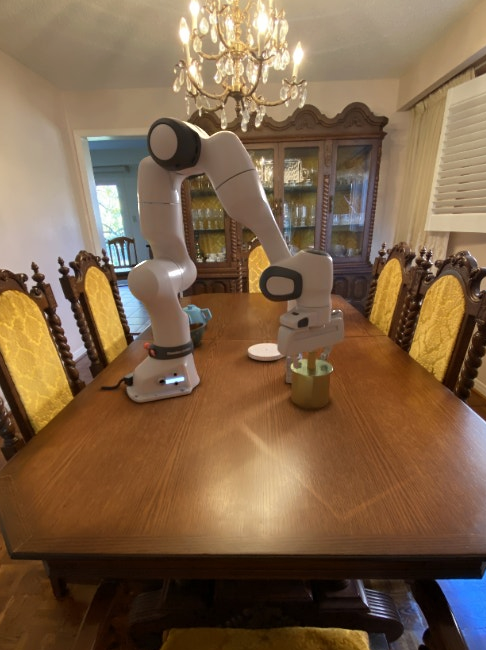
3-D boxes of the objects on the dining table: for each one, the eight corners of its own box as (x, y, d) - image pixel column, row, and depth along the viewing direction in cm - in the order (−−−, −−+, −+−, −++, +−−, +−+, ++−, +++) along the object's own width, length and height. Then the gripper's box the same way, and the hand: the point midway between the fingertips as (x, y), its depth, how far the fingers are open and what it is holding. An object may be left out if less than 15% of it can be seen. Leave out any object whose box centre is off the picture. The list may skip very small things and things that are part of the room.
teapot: (187, 334, 156) (185, 311, 152) (169, 327, 166) (167, 305, 162) (214, 326, 166) (212, 304, 162) (195, 320, 176) (193, 300, 172)
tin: (307, 414, 92) (308, 380, 88) (284, 398, 100) (284, 366, 96) (336, 403, 96) (338, 370, 93) (312, 388, 105) (313, 358, 101)
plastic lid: (265, 366, 121) (265, 359, 120) (240, 355, 131) (240, 349, 130) (293, 355, 129) (293, 349, 128) (267, 346, 139) (267, 340, 138)
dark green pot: (157, 344, 145) (154, 320, 142) (205, 340, 148) (203, 317, 144) (154, 355, 133) (150, 330, 130) (206, 351, 136) (204, 326, 132)
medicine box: (300, 384, 108) (300, 358, 105) (285, 383, 109) (286, 357, 105) (301, 373, 115) (302, 349, 112) (288, 372, 116) (288, 348, 113)
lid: (308, 383, 87) (309, 363, 85) (282, 368, 97) (282, 349, 94) (341, 372, 93) (343, 353, 91) (313, 359, 102) (314, 341, 100)
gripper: (334, 306, 96) (331, 352, 101) (273, 318, 87) (273, 368, 92) (351, 311, 91) (347, 359, 96) (288, 324, 82) (288, 376, 87)
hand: (311, 363), depth 94 cm, fingers open, 8 cm apart
